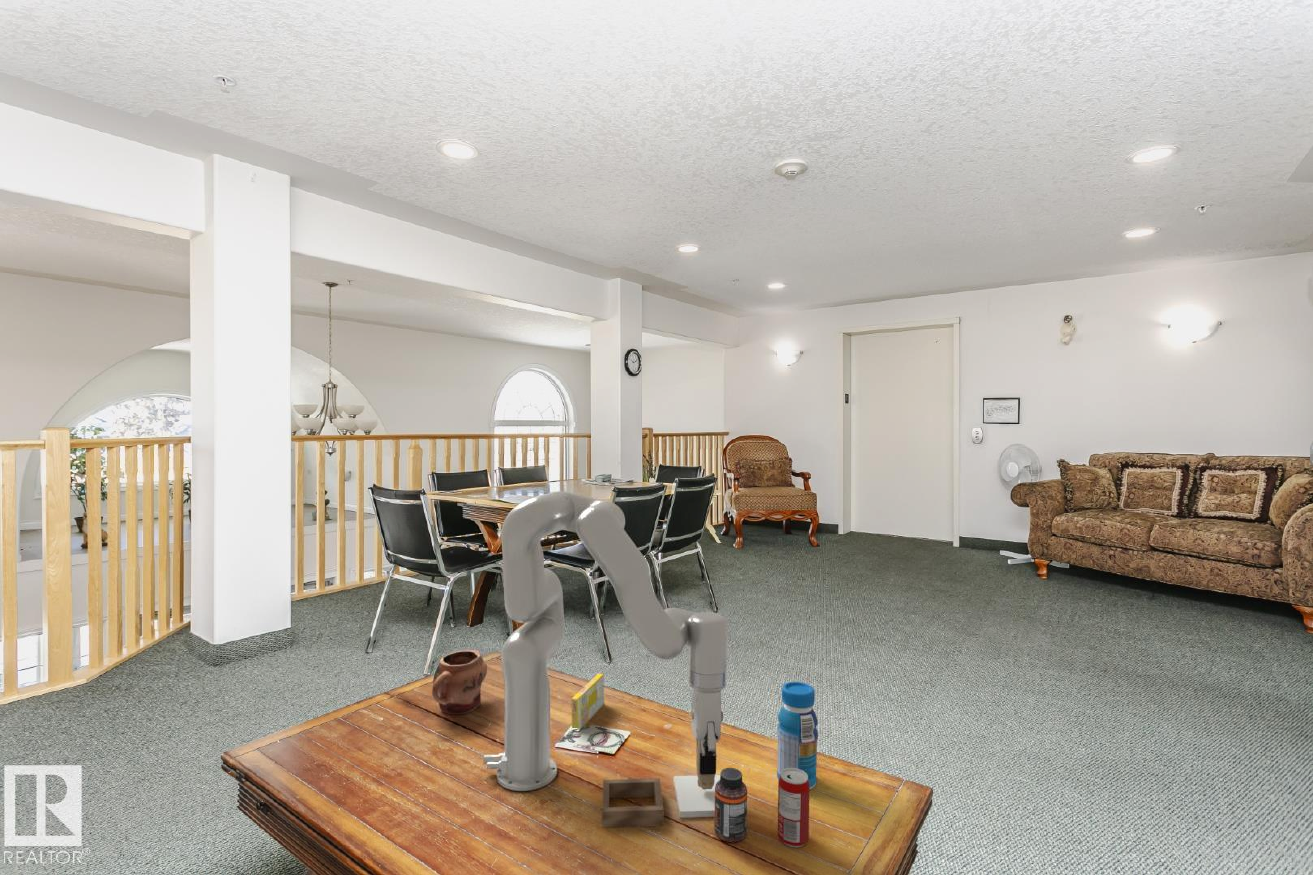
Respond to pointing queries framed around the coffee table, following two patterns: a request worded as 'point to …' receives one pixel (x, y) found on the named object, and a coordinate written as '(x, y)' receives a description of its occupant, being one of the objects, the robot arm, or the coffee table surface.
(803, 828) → the soda can
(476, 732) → the coffee table surface
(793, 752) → the beverage bottle
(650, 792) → the socket frame
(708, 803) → the plate
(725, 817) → the supplement bottle
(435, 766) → the coffee table surface
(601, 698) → the candy box
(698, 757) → the handle
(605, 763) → the coffee table surface
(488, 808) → the coffee table surface
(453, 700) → the brown clay mug
